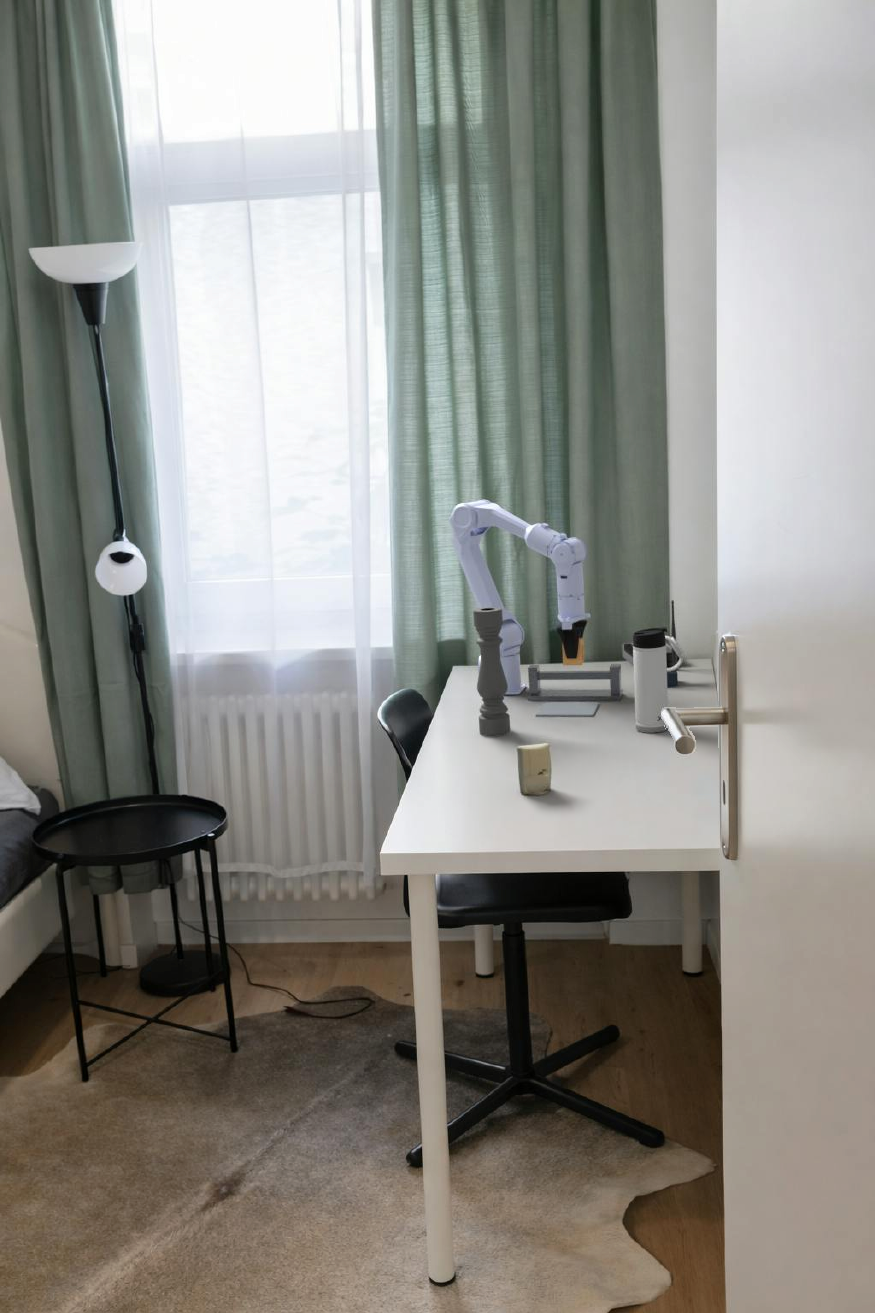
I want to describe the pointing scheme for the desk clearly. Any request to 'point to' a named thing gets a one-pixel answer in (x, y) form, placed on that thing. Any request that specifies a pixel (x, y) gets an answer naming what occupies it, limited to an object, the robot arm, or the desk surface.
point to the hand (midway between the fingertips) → (573, 655)
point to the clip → (579, 656)
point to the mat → (567, 709)
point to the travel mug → (650, 679)
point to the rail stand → (574, 695)
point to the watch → (671, 672)
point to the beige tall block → (534, 769)
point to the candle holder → (491, 673)
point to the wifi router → (670, 653)
